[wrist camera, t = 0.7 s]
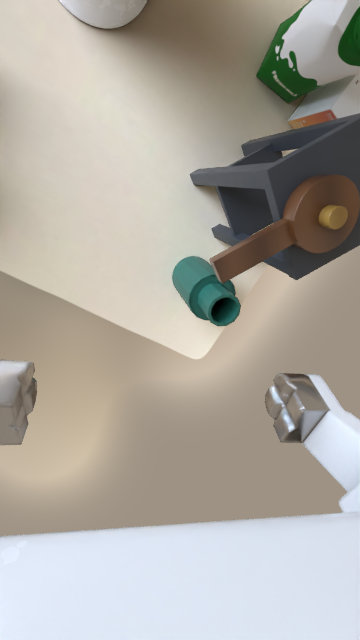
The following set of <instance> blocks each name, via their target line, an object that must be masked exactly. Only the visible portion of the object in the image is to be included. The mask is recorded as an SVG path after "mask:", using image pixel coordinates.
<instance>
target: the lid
mask: <svg viewBox="0 0 360 640" xmlns="http://www.w3.org/2000/svg"><path fill="white" fill-rule="evenodd" d="M359 209H360V197H359V193H358V190H357V188H356V186H355V184H354V183H353V182H352V181H351V180H350V179H349V178H347V177H345V176H342V175H316V176H313V177H310V178H308V179H306V180H305V181H303V182H302V183H301V184H299V185H298V186H297V187H296V188H295V190H294V191H293V192H292V194H291V195H290V197H289V198H288V200H287V203H286V205H285V208H284V212H283V218H282V219H281V220H279V221H277V222H275V223H273V224H272V225H270V226H268V227H266V228H264V229H263V230H261V231H259V232H257V233H255V234H254V235H252V236H250V237H248V238H246V239H245V240H243V241H241V242H239V243H237V244H236V245H234V246H232V247H230V248H228V249H227V250H225V251H223V252H221V253H219V254H218V255H216V256H214V257H212V258H210V262H211V264H212V267H213V269H214V271H215V274H216V276H217V278H218V280H219V281H220V282H221V283H224V282H226V281H228V280H230V279H232V278H233V277H235V276H237V275H239V274H241V273H242V272H244V271H246V270H248V269H249V268H251V267H253V266H255V265H257V264H258V263H260V262H262V261H264V260H266V259H267V258H269V257H271V256H273V255H275V254H276V253H278V252H280V251H282V250H284V249H285V248H287V247H289V246H291V245H293V246H295V247H297V248H299V249H302V250H305V251H308V252H311V253H325V252H328V251H330V250H332V249H334V248H336V247H337V246H339V245H340V244H341V243H342V242H343V241H344V240H345V239H346V238H347V237H348V235H349V234H350V233H351V231H352V229H353V228H354V226H355V224H356V221H357V218H358V215H359Z"/></svg>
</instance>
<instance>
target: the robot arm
mask: <svg viewBox="0 0 360 640" xmlns="http://www.w3.org/2000/svg"><path fill="white" fill-rule="evenodd" d="M59 1H60V2H61V3H62V5H63V6H64V7H65V8H66V9H67V10H68V11H70V12H71V13H72V14H73V15H74V16H76V17H77V18H78V19H80V20H82V21H83V22H85V23H87V24H89V25H92V26H95V27H99V28H107V29H108V28H117V27H120V26H123V25H125V24H127V23H129V22H130V21H132V20H133V19H134V18H135V17H136V16H137V15H138V14H139V13H140V12H141V11H142V9H143V8H144V6H145V4H146V3H147V1H148V0H59ZM34 372H35V369H34V363H33V362H27V361H14V360H0V445H21V444H22V441H23V438H24V435H25V432H26V429H27V426H28V420H27V415H28V414H29V413H31V412H32V411H33V408H34V405H35V401H36V395H37V382H36V380H35V379H34V378H33V374H34ZM273 381H274V384H275V385H274V386H272V387H270V388H269V389H268V392H267V393H266V397H265V404H266V409H267V411H268V414H269V415H270V416H271V417H273V419H275V421H274V425H273V426H274V428H275V430H276V433H277V435H278V437H279V439H280V442H286V443H303V445H304V446H305V447H306V448H307V449H308V451H309V452H310V453H311V454H312V455H313V456H314V457H315V458H316V459H317V460H318V461H319V462H320V463H321V464H322V465H323V466H324V467H325V468H326V469H327V471H328V472H329V473H330V474H331V475H332V476H333V477H334V478H335V479H336V480H337V481H338V482H339V483H340V484H341V485H342V486H343V487H344V488H345V489H346V490H347V492H348V493H347V494H345V495H344V496H343V497H342V498H341V499H340V501H339V505H340V507H341V509H342V512H343V513H335V514H318V515H303V516H289V517H274V518H260V519H246V520H230V521H216V522H202V523H188V524H172V525H157V526H145V527H144V526H143V527H129V528H114V529H100V530H85V531H70V532H57V533H42V534H27V535H13V536H0V640H360V420H359V419H358V418H357V417H355V416H354V415H352V414H351V413H350V412H345V411H344V410H343V408H342V407H341V405H340V404H339V403H338V401H337V399H336V398H335V397H334V395H333V393H332V392H331V391H330V389H329V388H328V386H327V385H326V383H325V382H324V380H323V379H322V378H321V377H320V376H319V375H311V374H287V373H286V374H285V373H279V374H278V375H276V377H275V378H274V380H273Z"/></svg>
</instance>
